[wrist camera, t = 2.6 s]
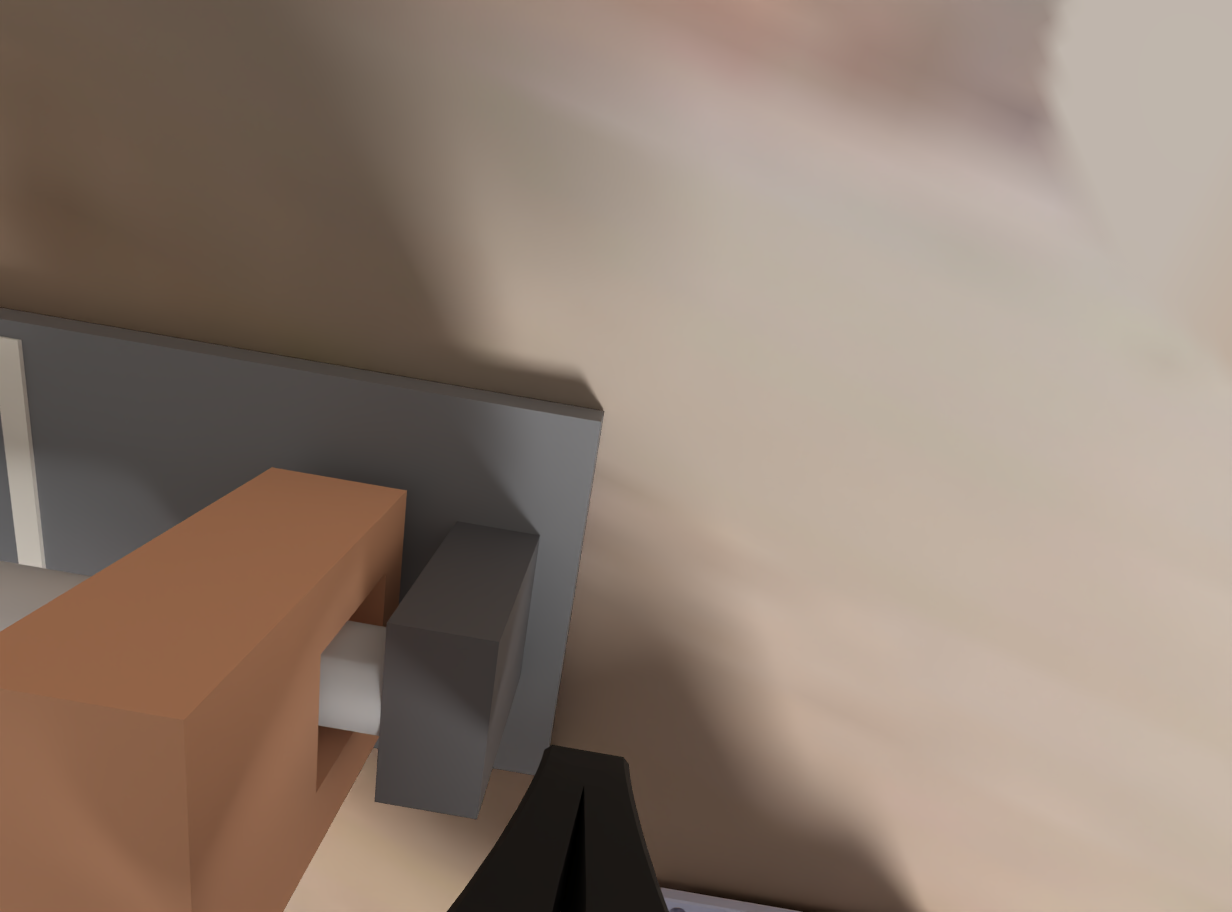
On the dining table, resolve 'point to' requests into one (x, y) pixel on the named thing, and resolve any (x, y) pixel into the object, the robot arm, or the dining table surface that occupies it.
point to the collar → (192, 706)
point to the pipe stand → (332, 447)
